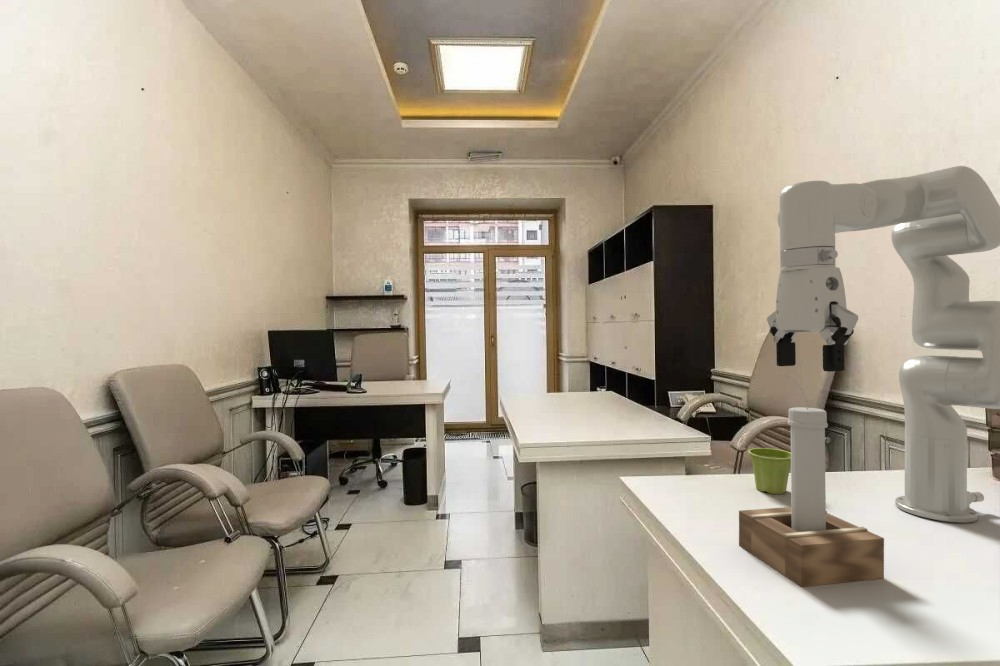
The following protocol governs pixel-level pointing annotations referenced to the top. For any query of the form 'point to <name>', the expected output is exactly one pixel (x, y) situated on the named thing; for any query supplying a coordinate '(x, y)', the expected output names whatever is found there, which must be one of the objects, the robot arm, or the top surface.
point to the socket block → (812, 548)
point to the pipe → (807, 467)
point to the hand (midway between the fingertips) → (808, 368)
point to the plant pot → (771, 469)
